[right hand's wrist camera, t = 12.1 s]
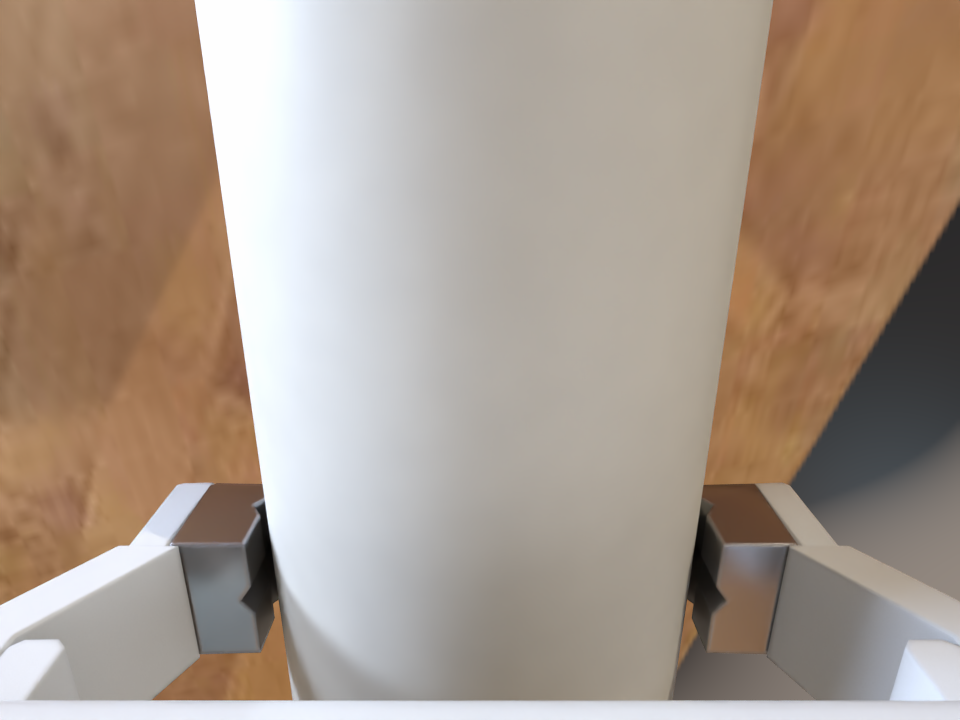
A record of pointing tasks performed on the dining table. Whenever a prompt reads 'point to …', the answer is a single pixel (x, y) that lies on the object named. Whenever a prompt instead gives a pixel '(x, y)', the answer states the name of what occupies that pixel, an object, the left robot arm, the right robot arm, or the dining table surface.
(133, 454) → the dining table surface
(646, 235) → the rod
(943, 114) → the dining table surface
